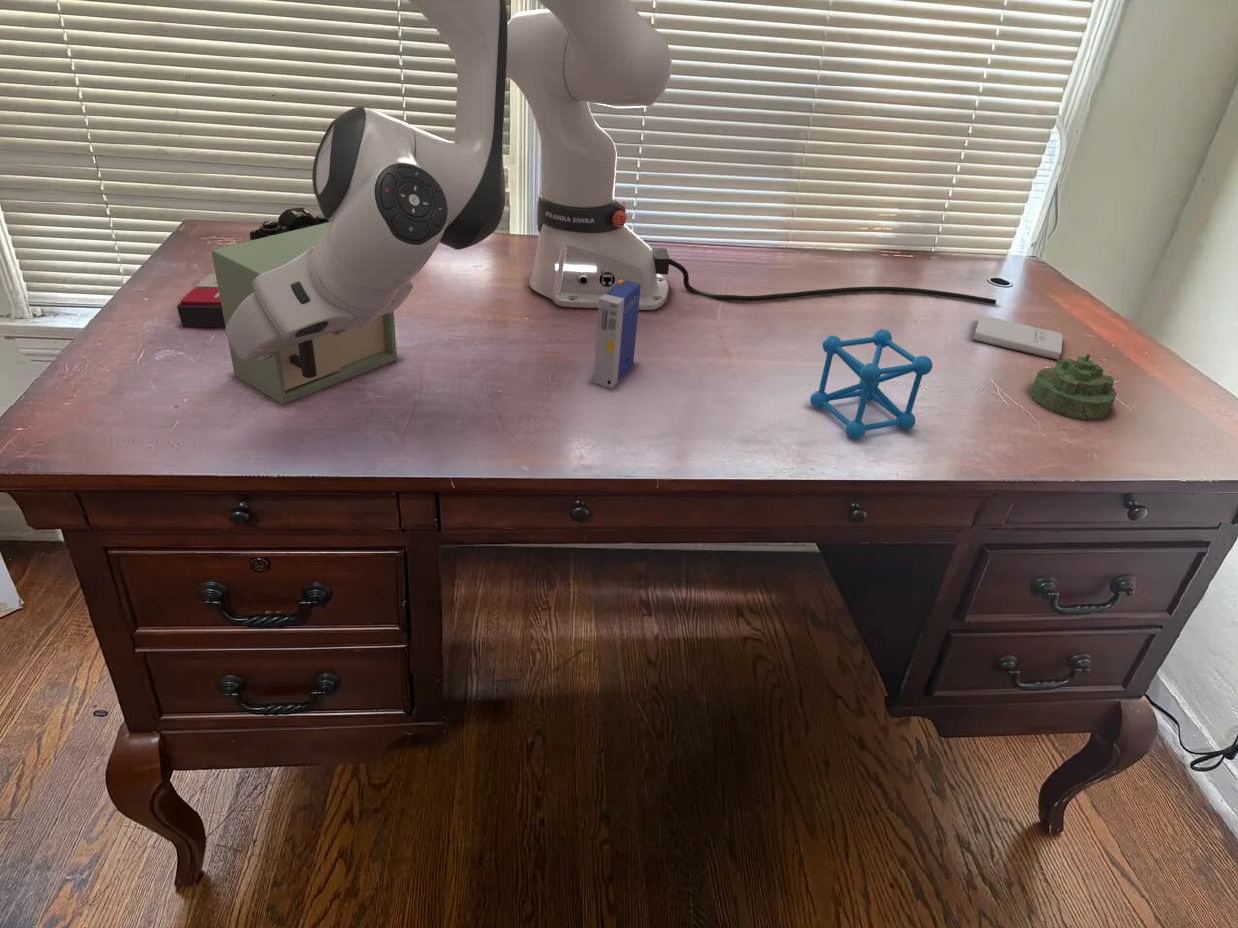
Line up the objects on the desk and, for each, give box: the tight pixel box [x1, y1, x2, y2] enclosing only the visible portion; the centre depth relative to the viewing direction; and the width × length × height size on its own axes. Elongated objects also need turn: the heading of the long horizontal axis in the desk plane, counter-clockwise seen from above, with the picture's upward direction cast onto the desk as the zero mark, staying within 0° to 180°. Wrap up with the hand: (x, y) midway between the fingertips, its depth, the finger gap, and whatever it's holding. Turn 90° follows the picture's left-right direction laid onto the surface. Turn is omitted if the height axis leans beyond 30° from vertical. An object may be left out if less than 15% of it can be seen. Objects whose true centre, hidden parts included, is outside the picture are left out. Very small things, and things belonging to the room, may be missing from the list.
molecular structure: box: [809, 328, 933, 440], centre depth 107 cm, size 10×10×10 cm
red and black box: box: [176, 273, 226, 328], centre depth 120 cm, size 11×4×15 cm
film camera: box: [249, 207, 329, 241], centre depth 134 cm, size 18×12×10 cm
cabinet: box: [210, 222, 398, 405], centre depth 105 cm, size 10×17×16 cm, turn 142°
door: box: [279, 333, 341, 391], centre depth 100 cm, size 4×8×13 cm, turn 142°
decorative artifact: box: [1030, 353, 1117, 421], centre depth 116 cm, size 10×7×10 cm
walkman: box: [592, 279, 641, 389], centre depth 111 cm, size 8×3×12 cm, turn 158°
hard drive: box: [972, 314, 1063, 361], centre depth 134 cm, size 2×8×12 cm
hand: (300, 340), depth 98 cm, fingers open, 8 cm apart
